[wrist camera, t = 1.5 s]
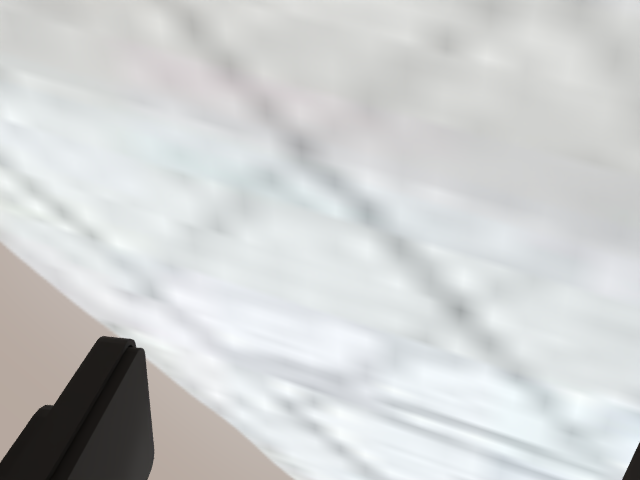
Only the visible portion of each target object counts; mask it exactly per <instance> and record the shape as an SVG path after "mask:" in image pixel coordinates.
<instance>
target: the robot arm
mask: <svg viewBox="0 0 640 480" xmlns="http://www.w3.org/2000/svg"><path fill="white" fill-rule="evenodd" d="M153 459H154V442H153V432H152V421H151V411H150V401H149V391H148V379H147V369H146V358H145V351H144V349H143V348H136V344H135V341H134V340H132V339H126V338H116V337H106V336H102V337H100V338H99V339H98V340H97V341H96V343H95V344H94V346H93V347H92V349H91V351H90V352H89V353H88V355H87V356H86V358H85V359H84V361H83V362H82V364H81V365H80V367H79V368H78V370H77V371H76V373H75V374H74V376H73V377H72V379H71V380H70V382H69V383H68V385H67V386H66V388H65V389H64V391H63V392H62V394H61V395H60V397H59V398H58V400H57V401H56V403H55V404H54V406H52V405H45V406H43V407H41V408H40V409H39V410H38V411H37V412H36V413H35V414H34V415H33V417H32V418H31V420H30V421H29V422H28V424H27V425H26V427H25V428H24V430H23V431H22V432H21V434H20V435H19V437H18V438H17V440H16V441H15V443H14V444H13V445H12V447H11V448H10V450H9V451H8V453H7V454H6V455H5V457H4V458H3V460H2V461H1V463H0V480H147V479H148V477H149V474H150V471H151V468H152V465H153ZM622 480H640V443H639V445H638V447H637V449H636V451H635V453H634V455H633V458H632V460H631V462H630V464H629V466H628V468H627V470H626V473H625V475H624V477H623V479H622Z"/></svg>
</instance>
